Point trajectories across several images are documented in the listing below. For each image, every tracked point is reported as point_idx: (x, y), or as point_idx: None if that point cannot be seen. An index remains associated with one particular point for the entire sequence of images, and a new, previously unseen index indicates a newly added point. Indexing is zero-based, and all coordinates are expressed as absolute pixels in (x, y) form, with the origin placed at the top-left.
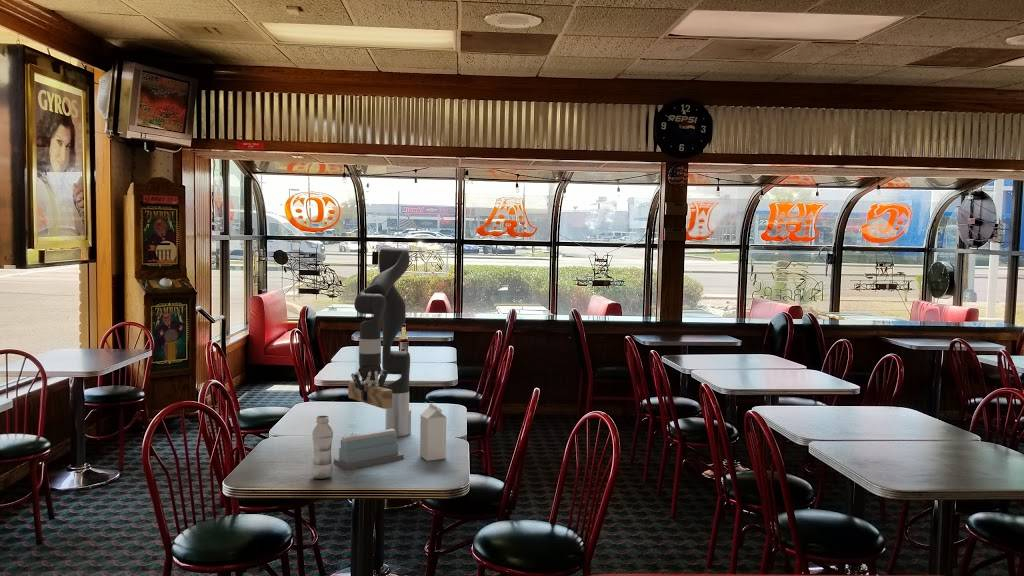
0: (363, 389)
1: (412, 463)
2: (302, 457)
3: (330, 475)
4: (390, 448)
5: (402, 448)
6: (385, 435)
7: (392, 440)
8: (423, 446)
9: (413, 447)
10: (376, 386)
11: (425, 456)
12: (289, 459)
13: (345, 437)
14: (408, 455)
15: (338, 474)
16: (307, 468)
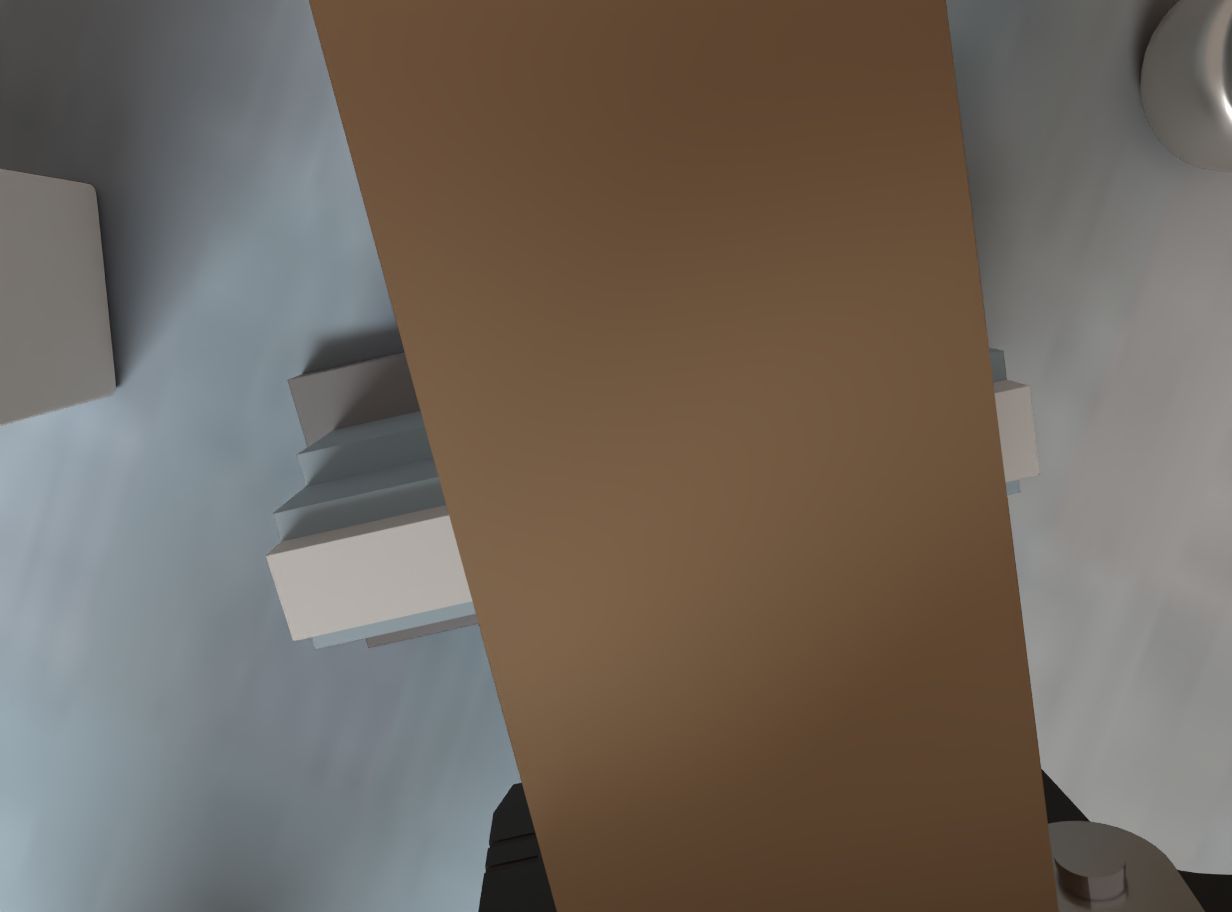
0: (1166, 899)
1: (265, 179)
2: (1110, 773)
3: (1175, 5)
4: (411, 423)
5: (209, 717)
6: (440, 486)
7: (358, 479)
8: (33, 300)
9: (96, 710)
10: (662, 823)
11: (82, 234)
12: (1222, 757)
13: (1008, 432)
14: (222, 469)
15: (1034, 132)
16: (1197, 439)
